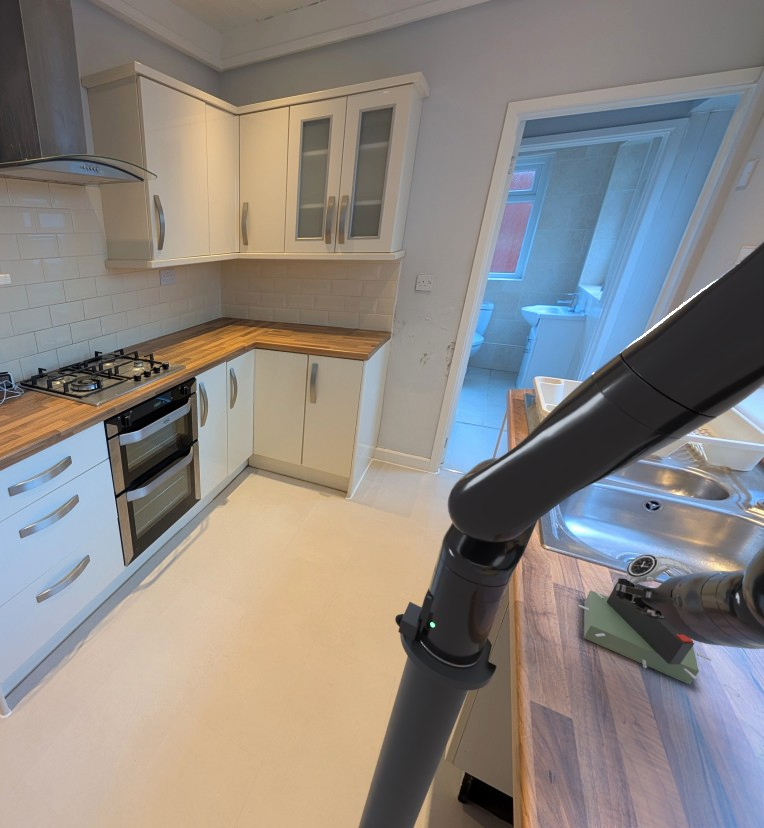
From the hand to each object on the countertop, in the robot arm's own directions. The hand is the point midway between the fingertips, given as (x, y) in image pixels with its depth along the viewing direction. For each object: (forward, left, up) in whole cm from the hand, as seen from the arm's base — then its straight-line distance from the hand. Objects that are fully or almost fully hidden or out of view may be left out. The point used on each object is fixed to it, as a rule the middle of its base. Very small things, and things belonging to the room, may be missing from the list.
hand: (648, 608), depth 61 cm
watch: (+4, +14, -11) cm, 18 cm away
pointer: (+2, +4, -7) cm, 9 cm away
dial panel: (+2, +5, -10) cm, 12 cm away
